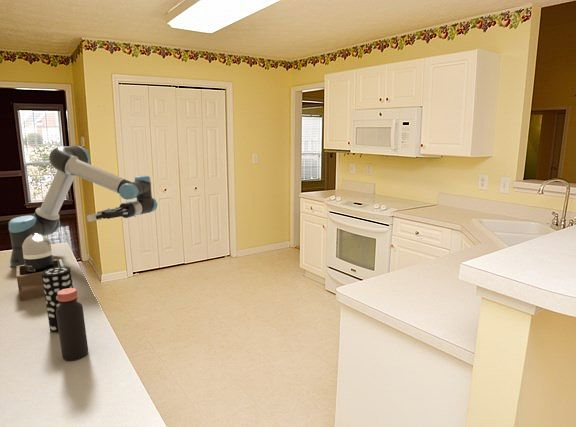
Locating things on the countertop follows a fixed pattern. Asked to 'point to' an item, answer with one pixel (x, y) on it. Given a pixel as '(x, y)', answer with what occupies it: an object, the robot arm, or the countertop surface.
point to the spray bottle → (37, 253)
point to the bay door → (60, 263)
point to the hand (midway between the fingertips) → (88, 218)
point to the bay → (30, 283)
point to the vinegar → (71, 325)
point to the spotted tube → (55, 291)
